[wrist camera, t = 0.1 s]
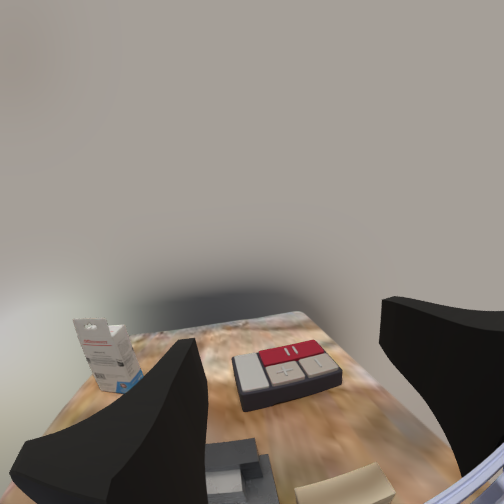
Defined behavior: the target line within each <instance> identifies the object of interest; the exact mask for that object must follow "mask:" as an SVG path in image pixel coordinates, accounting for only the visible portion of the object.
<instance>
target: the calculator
mask: <svg viewBox="0 0 504 504" xmlns="http://www.w3.org/2000/svg"><path fill="white" fill-rule="evenodd" d="M232 365H233V370H234V376H235V380H236V385H237V389H238V393H239V397H240V402H241V406H242V410H243V412H249V411H253V410H258V409H262V408H266V407H270V406H273V405H274V404H277V403H281V402H285V401H289V400H294V399H298V398H301V397H305V396H309V395H312V394H316V393H319V392H322V391H325V390H328V389H331V388H333V387H336V386H339V385H341V384H342V369H341V368H340V367H339V366H338V365H337V364H336V362H335V361H334V360H333V359H332V358H331V357H330V356H329V355H328V354H327V353H326V351H325V350H324V349H323V348H322V347H321V346H320V345H319V344H318V343H317V342H316V341H315V340H309V341H305V342H301V343H296V344H292V345H287V346H282V347H277V348H272V349H267V350H262V351H259V353H250V354H244V355H238V356H235V357H232Z"/></svg>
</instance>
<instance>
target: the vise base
mask: <svg viewBox="0 0 504 504" xmlns="http://www.w3.org/2000/svg"><path fill="white" fill-rule="evenodd" d="M205 474H206V486H207V496H208V504H279V500H278V496H277V492H276V487H275V483H274V479H273V474H272V470H271V465H270V461H269V456H268V454H265V455H259V453H258V449H257V445H256V441H255V438H251V439H245V440H238V441H230V442H222V443H212V444H205Z"/></svg>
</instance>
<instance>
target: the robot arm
mask: <svg viewBox="0 0 504 504" xmlns="http://www.w3.org/2000/svg"><path fill="white" fill-rule="evenodd" d="M379 344H380V346H381V347H382V349H383V351H384V352H385V354H386V355H387V357H388V358H389V360H390V361H391V362H392V363H393V365H394V366H395V367H396V368H397V369H398V370H399V371H400V373H401V374H402V375H403V376H404V377H405V378H406V379H407V380H408V382H409V383H410V384H411V385H412V386H413V387H414V388H415V389H416V390H417V392H418V393H419V394H420V395H421V396H422V397H423V399H424V400H425V401H426V403H427V404H428V406H429V408H430V409H431V411H432V412H433V414H434V415H435V417H436V419H437V421H438V422H439V424H440V426H441V428H442V429H443V431H444V433H445V435H446V437H447V439H448V441H449V444H450V446H451V448H452V450H453V453H454V455H455V458H456V461H457V464H458V466H459V469H460V473H461V476H462V479H460V480H459V481H458V482H456V483H455V484H453V485H452V486H451V487H449V488H448V489H446V490H445V491H443V492H442V493H440V494H439V495H437V496H435V497H434V498H432V499H431V500H429V501H427V502H426V503H424V504H460V503H461V502H463V501H464V500H465V499H466V498H468V497H469V496H470V495H472V494H473V493H474V492H475V491H477V490H478V489H479V488H480V487H481V486H482V485H484V484H485V483H486V482H487V481H488V480H489V479H490V478H491V477H493V476H494V475H495V474H496V473H497V472H498V471H499V470H500V469H501V468H502V467H503V466H504V311H477V310H467V309H461V308H454V307H449V306H444V305H439V304H434V303H429V302H425V301H420V300H416V299H411V298H405V297H396V296H394V297H390V298H386V299H383V300H382V309H381V324H380V336H379ZM207 417H208V386H207V379H206V376H205V373H204V369H203V366H202V362H201V359H200V355H199V352H198V348H197V345H196V341H195V338H190V339H181V340H178V341H177V342H176V343H175V344H174V345H173V346H172V347H171V348H170V349H169V350H168V351H167V353H166V354H165V355H164V356H163V357H162V358H161V359H160V360H159V361H158V363H157V364H156V365H155V366H154V367H153V368H152V369H151V370H150V371H149V372H148V373H147V374H146V375H145V376H144V377H143V378H142V379H141V380H140V381H139V382H138V383H137V384H136V385H134V386H133V387H132V388H131V389H130V390H129V391H127V392H126V393H125V394H124V395H122V396H121V397H120V398H118V399H117V400H116V401H114V402H113V403H112V404H110V405H109V406H107V407H105V408H104V409H102V410H100V411H99V412H97V413H96V414H94V415H92V416H91V417H89V418H87V419H85V420H83V421H81V422H79V423H77V424H75V425H73V426H70V427H68V428H66V429H63V430H61V431H58V432H56V433H53V434H49V435H46V436H43V437H40V438H36V439H33V440H28V441H26V442H25V443H24V445H23V447H22V449H21V450H20V452H19V454H18V456H17V458H16V460H15V462H14V464H13V466H12V468H11V470H10V472H9V474H10V476H11V478H12V480H13V482H14V483H15V484H16V485H17V486H18V488H20V489H21V490H22V491H23V492H24V493H25V494H26V495H27V496H28V497H30V498H31V499H32V500H33V501H34V502H36V503H37V504H208V496H207V486H206V474H205V443H206V430H207ZM471 504H504V467H503V473H502V474H501V475H500V476H499V477H498V478H497V479H496V480H495V481H494V482H493V483H492V484H491V485H490V486H489V487H488V488H487V489H486V490H485V491H484V492H483V493H482V494H481V495H480V496H479V497H478V498H476V499H475V500H474V501H473V502H472V503H471Z"/></svg>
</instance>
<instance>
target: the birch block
mask: <svg viewBox="0 0 504 504" xmlns="http://www.w3.org/2000/svg"><path fill="white" fill-rule="evenodd" d="M395 494H396V492H395V490H394V489H393V487H392V486H391V484H390V482H389V481H388V479H387V478H386V476H385V474H384V473H383V471H382V470H381V468H380V466H379V465H378V463H377V462H374V463H372V464H370V465H367V466H365V467H362V468H360V469H357V470H354V471H352V472H349V473H346V474H343V475H340V476H337V477H334V478H331V479H328V480H324V481H321V482H318V483H314V484H310V485H306V486H302V487H298V488H295V495H296V502H297V504H390V503H391V501H392V499H393V497H394V495H395Z"/></svg>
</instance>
